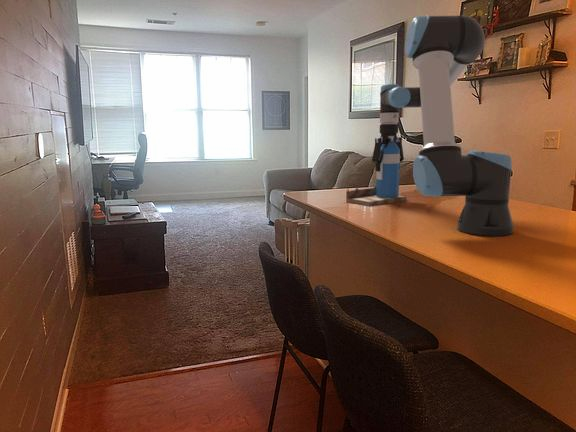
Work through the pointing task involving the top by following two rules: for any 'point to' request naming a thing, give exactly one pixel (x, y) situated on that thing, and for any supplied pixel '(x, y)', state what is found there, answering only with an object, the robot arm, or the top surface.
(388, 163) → the water bottle
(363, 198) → the ledge board
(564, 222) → the top surface
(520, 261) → the top surface
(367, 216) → the top surface
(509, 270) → the top surface
